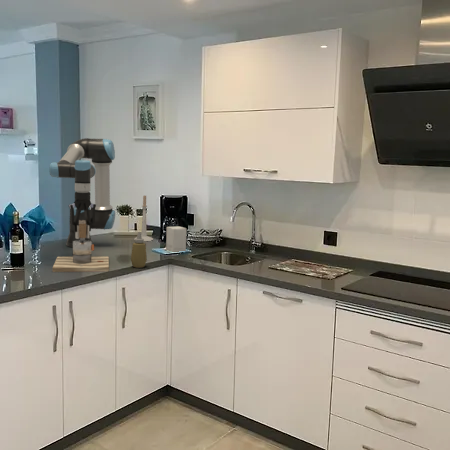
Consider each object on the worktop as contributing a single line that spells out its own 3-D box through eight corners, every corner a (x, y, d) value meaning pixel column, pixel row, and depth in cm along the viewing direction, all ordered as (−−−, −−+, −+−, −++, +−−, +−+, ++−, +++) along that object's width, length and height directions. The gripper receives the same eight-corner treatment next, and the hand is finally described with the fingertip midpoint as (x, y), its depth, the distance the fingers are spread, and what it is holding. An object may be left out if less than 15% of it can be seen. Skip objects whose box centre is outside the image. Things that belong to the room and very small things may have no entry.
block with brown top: (72, 256, 251) (73, 223, 249) (72, 251, 262) (72, 220, 260) (94, 255, 254) (94, 223, 252) (93, 250, 265) (93, 220, 263)
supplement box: (186, 253, 302) (187, 228, 300) (172, 254, 297) (173, 228, 295) (178, 250, 309) (179, 226, 307) (165, 251, 304) (166, 226, 302)
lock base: (57, 260, 268) (57, 249, 267) (108, 260, 274) (108, 249, 273) (52, 271, 243) (52, 259, 242) (108, 271, 249) (108, 259, 248)
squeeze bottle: (133, 268, 257) (134, 233, 254) (128, 265, 264) (129, 230, 261) (148, 267, 260) (149, 233, 258) (143, 264, 268) (144, 230, 265)
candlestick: (135, 242, 331) (136, 195, 327) (132, 238, 343) (133, 193, 339) (155, 241, 335) (156, 196, 331) (151, 238, 347) (152, 194, 343)
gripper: (68, 192, 245) (67, 240, 248) (102, 192, 256) (102, 238, 259) (62, 191, 251) (62, 238, 254) (96, 190, 262) (95, 235, 265)
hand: (82, 238), depth 257 cm, fingers closed on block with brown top, 5 cm apart
